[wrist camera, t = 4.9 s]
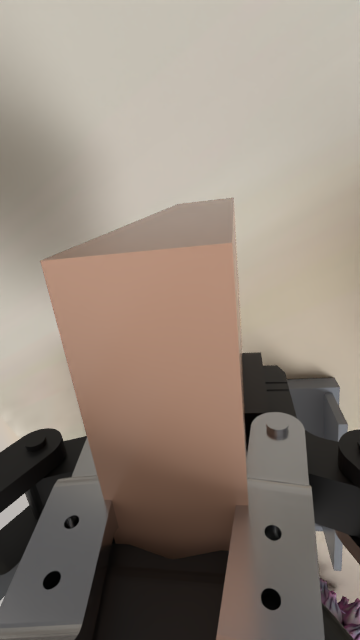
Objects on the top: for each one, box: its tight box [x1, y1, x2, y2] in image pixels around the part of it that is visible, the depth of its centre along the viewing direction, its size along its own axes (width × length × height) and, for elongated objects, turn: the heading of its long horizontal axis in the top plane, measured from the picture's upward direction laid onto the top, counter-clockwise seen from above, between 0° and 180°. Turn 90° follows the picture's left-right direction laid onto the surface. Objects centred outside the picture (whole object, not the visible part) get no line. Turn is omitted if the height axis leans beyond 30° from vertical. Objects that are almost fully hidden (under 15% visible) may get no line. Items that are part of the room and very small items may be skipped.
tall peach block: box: [41, 198, 248, 559], centre depth 12 cm, size 12×2×12 cm, turn 7°
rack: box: [287, 378, 348, 571], centre depth 30 cm, size 16×17×6 cm
